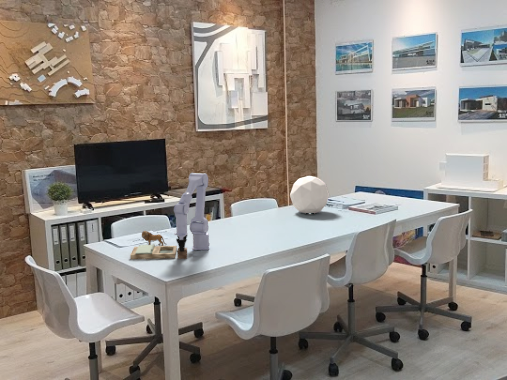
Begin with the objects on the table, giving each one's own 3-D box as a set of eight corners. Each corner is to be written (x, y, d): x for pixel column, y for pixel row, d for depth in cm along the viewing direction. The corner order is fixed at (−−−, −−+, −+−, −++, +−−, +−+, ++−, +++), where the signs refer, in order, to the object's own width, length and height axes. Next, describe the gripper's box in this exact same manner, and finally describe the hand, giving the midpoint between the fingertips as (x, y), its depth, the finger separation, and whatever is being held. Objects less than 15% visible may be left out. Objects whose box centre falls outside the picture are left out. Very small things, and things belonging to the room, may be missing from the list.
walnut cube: (187, 256, 311) (187, 247, 310) (186, 258, 306) (186, 249, 305) (178, 256, 311) (178, 247, 310) (177, 259, 306) (177, 250, 305)
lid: (154, 245, 322) (154, 242, 322) (152, 253, 306) (151, 250, 306) (139, 246, 321) (138, 243, 321) (135, 253, 305) (135, 250, 305)
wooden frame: (176, 250, 324) (176, 245, 323) (175, 258, 307) (174, 253, 307) (134, 251, 322) (134, 246, 322) (130, 259, 305) (130, 254, 305)
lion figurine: (141, 246, 332) (140, 232, 330) (142, 244, 337) (142, 230, 336) (166, 246, 332) (165, 231, 331) (167, 244, 338) (166, 229, 336)
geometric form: (315, 228, 423) (317, 201, 401) (282, 210, 435) (283, 183, 414) (334, 205, 439) (338, 178, 417) (302, 189, 451) (304, 162, 429)
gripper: (175, 222, 312) (175, 246, 314) (173, 228, 298) (174, 253, 300) (187, 222, 313) (188, 246, 315) (186, 228, 299) (187, 252, 301)
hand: (182, 249), depth 308 cm, fingers open, 7 cm apart
